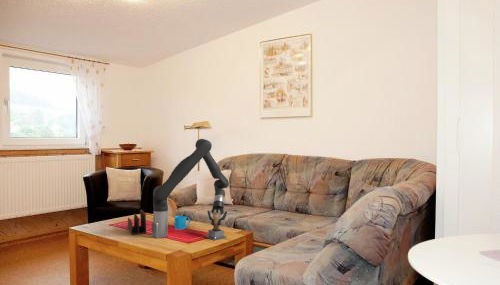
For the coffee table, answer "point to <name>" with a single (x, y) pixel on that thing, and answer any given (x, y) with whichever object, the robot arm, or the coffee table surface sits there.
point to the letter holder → (137, 224)
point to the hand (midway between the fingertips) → (215, 224)
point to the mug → (181, 222)
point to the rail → (216, 222)
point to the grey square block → (216, 234)
